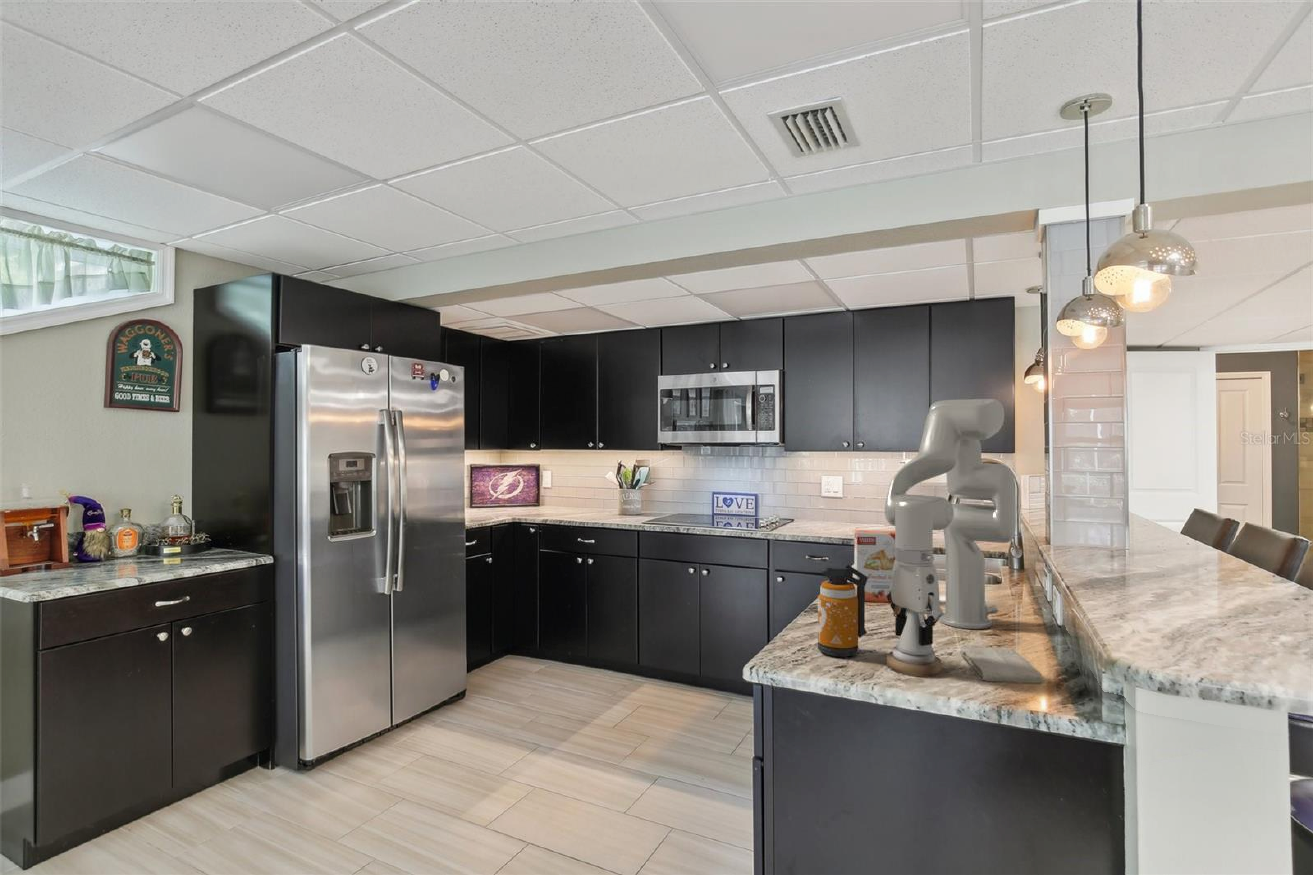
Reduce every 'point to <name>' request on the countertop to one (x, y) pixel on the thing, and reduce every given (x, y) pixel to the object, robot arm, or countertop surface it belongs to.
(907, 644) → the flask
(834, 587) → the canister
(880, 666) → the countertop surface
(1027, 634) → the countertop surface
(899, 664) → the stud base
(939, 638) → the countertop surface
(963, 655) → the washcloth
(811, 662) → the countertop surface
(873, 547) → the cracker box
